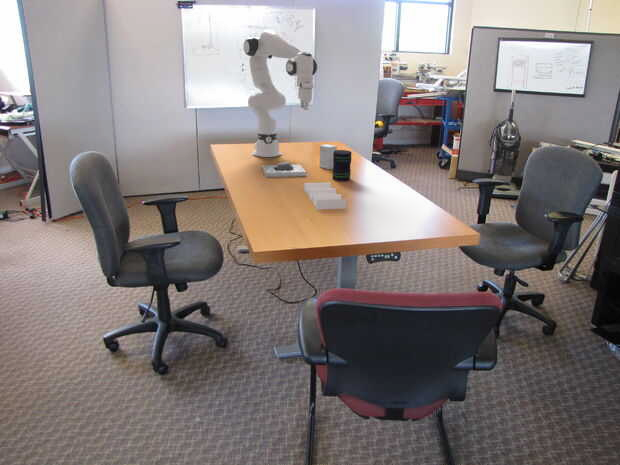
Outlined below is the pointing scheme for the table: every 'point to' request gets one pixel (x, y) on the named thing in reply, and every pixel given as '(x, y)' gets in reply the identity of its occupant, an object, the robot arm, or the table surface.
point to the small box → (327, 156)
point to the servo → (283, 166)
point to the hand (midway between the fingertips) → (304, 109)
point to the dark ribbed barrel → (341, 165)
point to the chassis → (283, 171)
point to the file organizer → (324, 196)
